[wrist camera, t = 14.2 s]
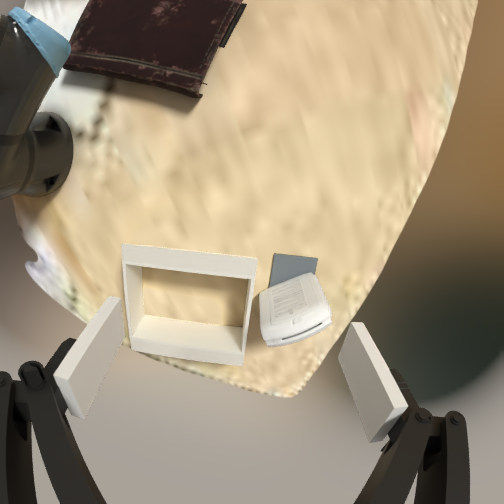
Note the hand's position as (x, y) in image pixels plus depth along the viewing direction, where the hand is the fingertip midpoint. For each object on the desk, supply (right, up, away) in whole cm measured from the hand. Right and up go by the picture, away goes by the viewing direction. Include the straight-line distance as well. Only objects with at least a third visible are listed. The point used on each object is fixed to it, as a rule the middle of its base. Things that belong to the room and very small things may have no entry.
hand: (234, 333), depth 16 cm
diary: (-15, +39, +18) cm, 45 cm away
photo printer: (+7, -2, +32) cm, 33 cm away
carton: (-9, -2, +32) cm, 34 cm away
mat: (+7, -2, +32) cm, 33 cm away
